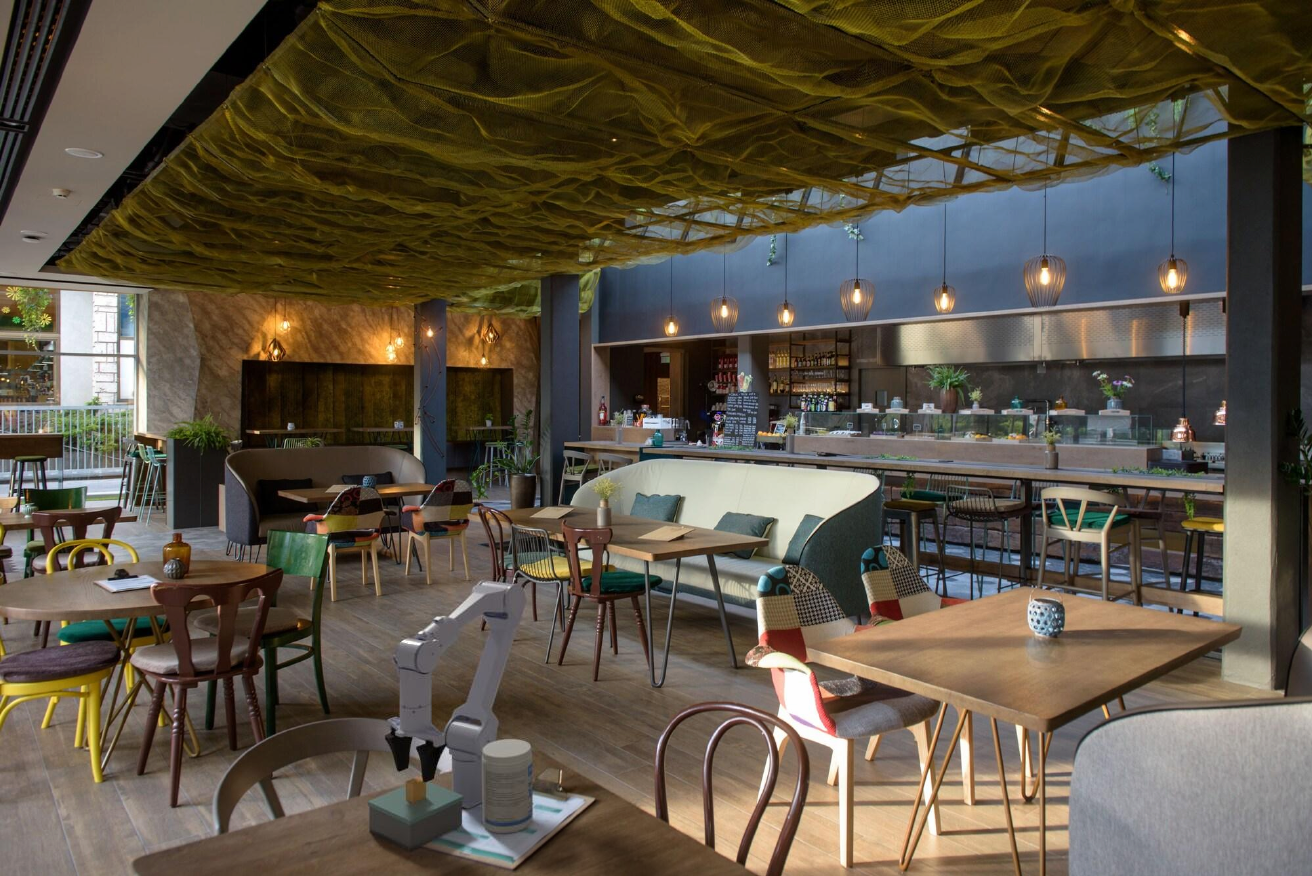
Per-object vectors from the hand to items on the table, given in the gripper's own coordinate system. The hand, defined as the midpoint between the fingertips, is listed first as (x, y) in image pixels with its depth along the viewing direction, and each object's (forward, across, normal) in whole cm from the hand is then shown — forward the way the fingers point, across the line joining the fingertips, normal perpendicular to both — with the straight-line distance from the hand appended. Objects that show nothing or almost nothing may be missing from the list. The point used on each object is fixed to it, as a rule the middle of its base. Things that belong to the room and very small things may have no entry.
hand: (415, 775), depth 162 cm
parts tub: (+10, 0, 0) cm, 10 cm away
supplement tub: (+11, +12, +12) cm, 20 cm away
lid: (+6, 0, 0) cm, 6 cm away
